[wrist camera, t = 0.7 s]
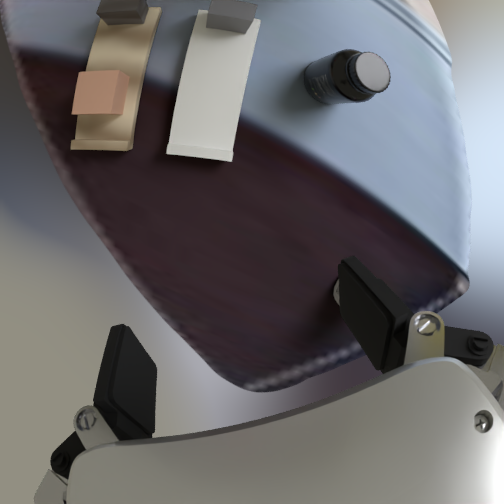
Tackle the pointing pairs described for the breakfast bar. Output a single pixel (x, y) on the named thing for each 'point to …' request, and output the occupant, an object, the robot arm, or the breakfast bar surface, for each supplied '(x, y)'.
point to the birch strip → (118, 58)
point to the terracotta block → (100, 92)
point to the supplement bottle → (347, 77)
